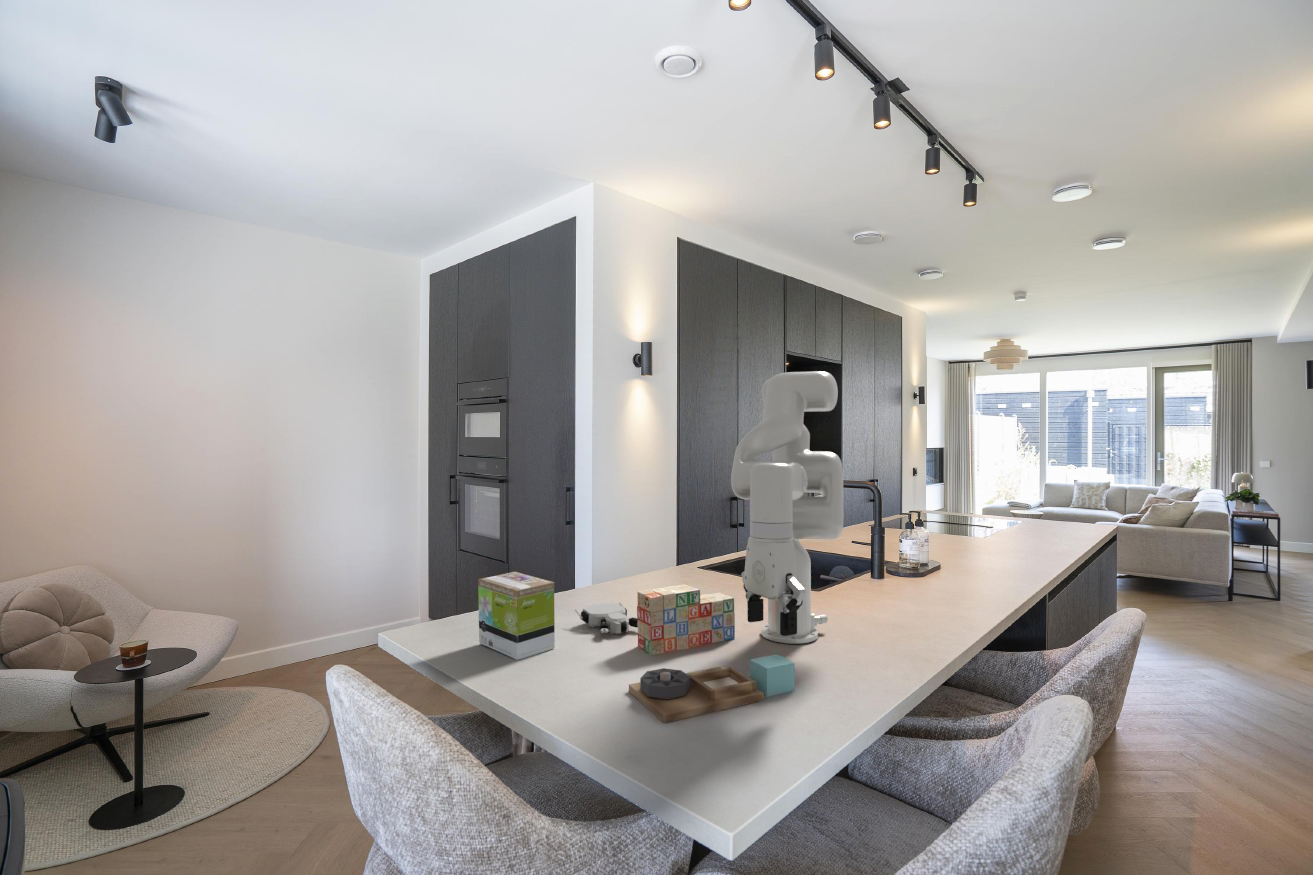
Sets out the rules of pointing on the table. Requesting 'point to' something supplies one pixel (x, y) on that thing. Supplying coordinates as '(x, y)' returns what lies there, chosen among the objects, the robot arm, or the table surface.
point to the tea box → (516, 614)
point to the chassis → (702, 694)
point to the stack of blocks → (682, 618)
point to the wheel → (665, 684)
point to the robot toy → (608, 617)
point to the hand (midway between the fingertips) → (771, 627)
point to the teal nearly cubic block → (772, 674)
